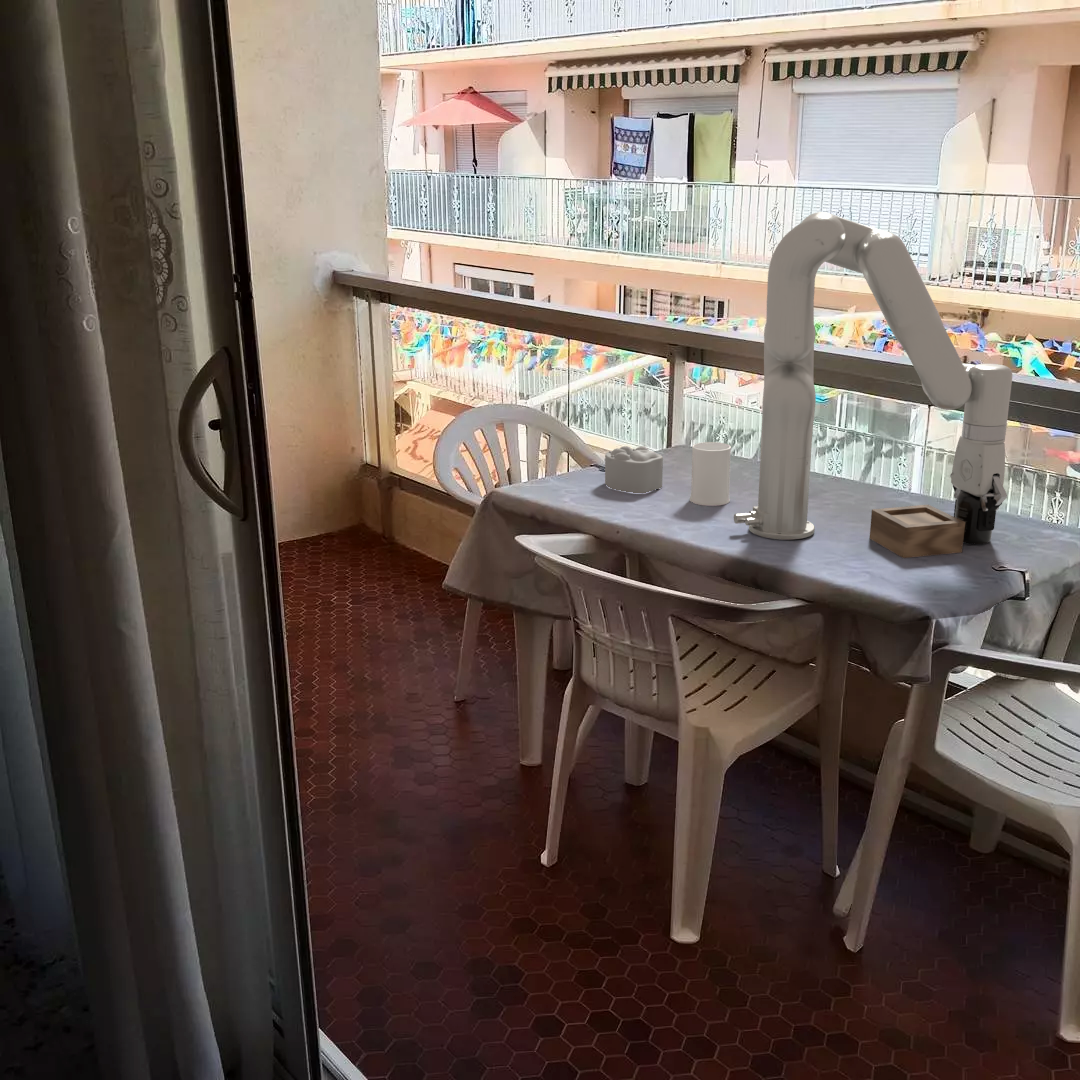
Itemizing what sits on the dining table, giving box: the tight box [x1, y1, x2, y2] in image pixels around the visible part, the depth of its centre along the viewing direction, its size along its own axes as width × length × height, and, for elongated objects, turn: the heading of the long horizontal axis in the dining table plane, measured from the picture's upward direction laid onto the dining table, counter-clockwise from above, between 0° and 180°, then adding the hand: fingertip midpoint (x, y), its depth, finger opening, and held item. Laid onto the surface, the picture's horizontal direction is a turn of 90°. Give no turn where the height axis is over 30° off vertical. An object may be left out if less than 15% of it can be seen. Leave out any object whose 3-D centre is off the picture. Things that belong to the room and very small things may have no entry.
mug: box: [689, 441, 732, 507], centre depth 238 cm, size 12×8×12 cm
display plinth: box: [868, 504, 965, 559], centre depth 207 cm, size 12×12×6 cm
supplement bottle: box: [955, 491, 993, 545], centre depth 209 cm, size 7×7×12 cm
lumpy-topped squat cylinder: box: [604, 445, 664, 493], centre depth 250 cm, size 10×13×9 cm
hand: (973, 523), depth 210 cm, fingers closed on supplement bottle, 6 cm apart
